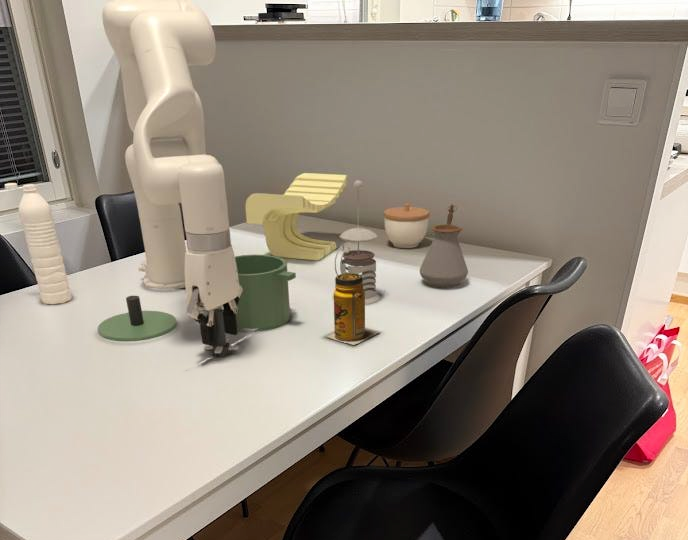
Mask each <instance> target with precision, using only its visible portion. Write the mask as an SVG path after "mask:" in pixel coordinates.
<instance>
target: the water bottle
mask: <svg viewBox="0 0 688 540" xmlns="http://www.w3.org/2000/svg"><path fill="white" fill-rule="evenodd" d="M18 186H19V185H18V183H16V182H8V183H5V184H4V188H5V190H7V191H13V190H17V189H19V187H18ZM22 187H23V189H22V191H23V195H22V197H21V199H20V202H19V205H18V215H19V218H20V221H21V225H22V229H23V233H24V237H25V240H26V245H27V248H28V252H29V256H30V260H31V264H32V266H33V267H32V268H33V271H34V276H35V279H36V282H37V288H38V291H39V295H40V299H41V303H43V304H46V305H57V304H64V303H67V302H70V301H71V299H72V297H73V296H72V292H71V288H70V284H69V283H70V282H69V280H68V275H67V271H66V267H65V263H64V258H63V255H62V253H61V252H62V250H61V246H60V242H59V238H58V234H57V230H56V227H55V226H56V225H55V223H54V222H55V221H54V216H53V211H52V208H51V206H50V204H49V202H47V200H45V199H44V197H43V196H42V195H41V194H40V193H39V192H38V191H37V188H36V184H33V183H28V184H23V185H22Z"/></svg>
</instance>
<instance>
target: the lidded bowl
mask: <svg viewBox="0 0 688 540" xmlns="http://www.w3.org/2000/svg"><path fill="white" fill-rule="evenodd" d="M430 213H431V212H430V210H428V209H427V208H424V207H418V206H410V203H405V204H404V206H396V207H395V206H394V207H390V208H387V209H384V211H383V217H384V231H385V234H386V237H387V239H388V240H389V241H390V242H391V244H392V246H394V247H395V248H400V249H413V248H416V247H418V246H419V244H420V243H422V241H423V240H424V239H425V237H426V235H427V233H428V229H429V223H430V221H429V220H430V215H431V214H430Z"/></svg>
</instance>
